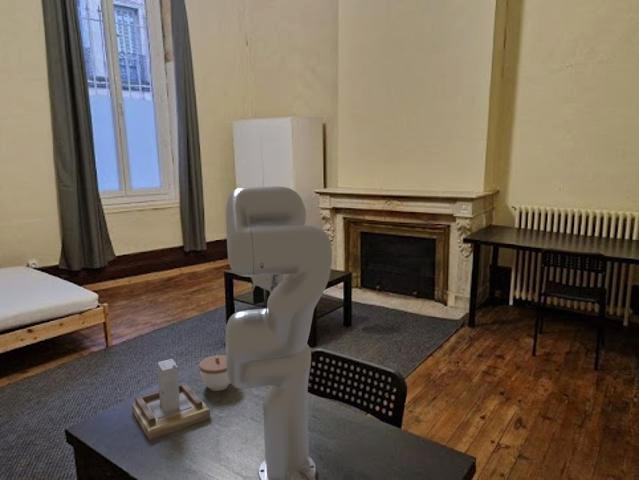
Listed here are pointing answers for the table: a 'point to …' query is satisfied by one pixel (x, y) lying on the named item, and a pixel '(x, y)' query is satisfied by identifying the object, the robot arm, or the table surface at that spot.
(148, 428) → the frame
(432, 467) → the table surface
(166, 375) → the skincare box
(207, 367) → the lidded jar
